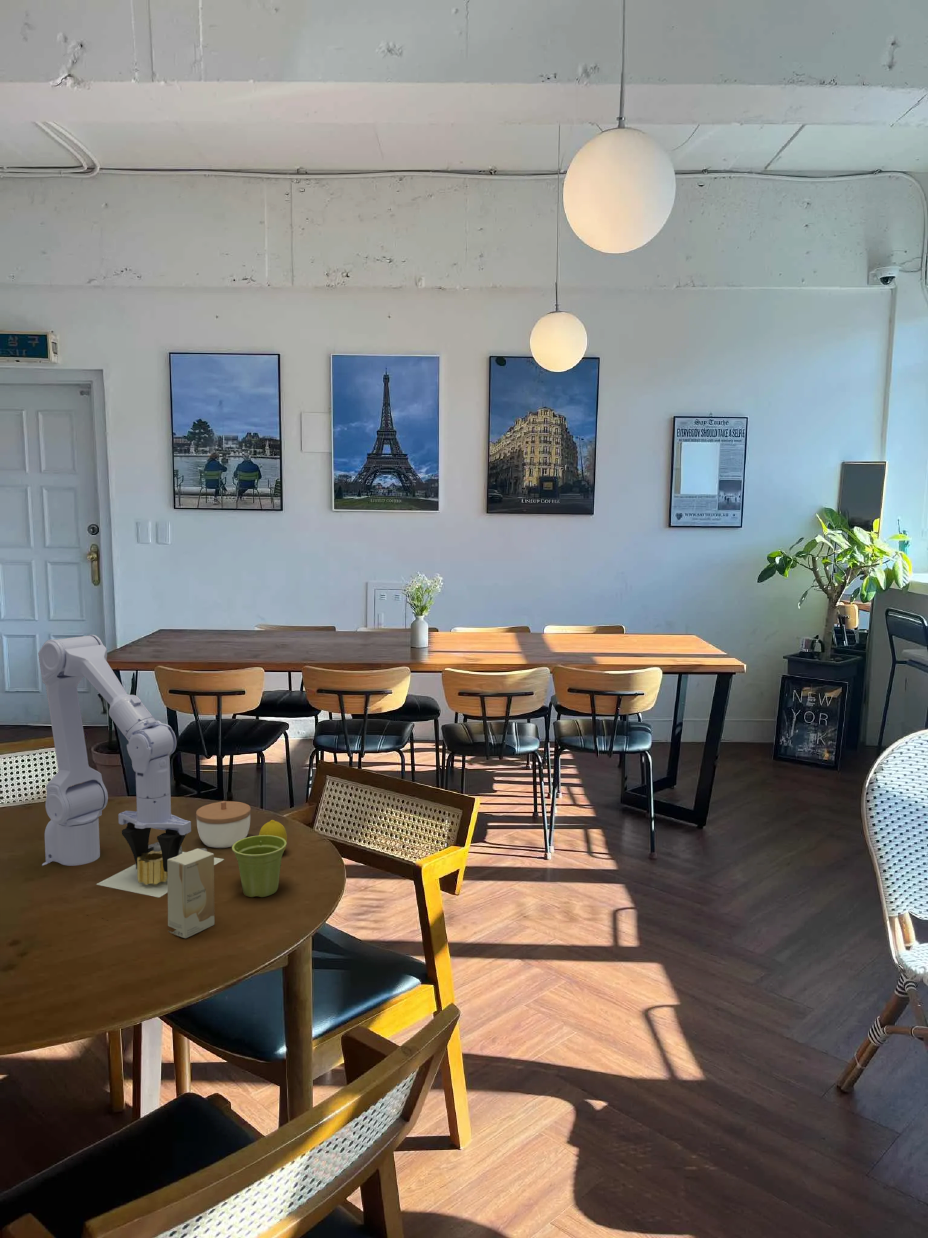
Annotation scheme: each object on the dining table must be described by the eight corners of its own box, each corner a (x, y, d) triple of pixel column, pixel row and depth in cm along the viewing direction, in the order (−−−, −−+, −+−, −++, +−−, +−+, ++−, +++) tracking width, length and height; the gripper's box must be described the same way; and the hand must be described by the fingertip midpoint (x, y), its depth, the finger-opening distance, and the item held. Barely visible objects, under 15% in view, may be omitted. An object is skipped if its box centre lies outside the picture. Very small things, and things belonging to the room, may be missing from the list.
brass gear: (130, 880, 148) (130, 858, 148) (154, 869, 153) (154, 848, 153) (153, 887, 146) (153, 865, 145) (176, 876, 151) (176, 854, 150)
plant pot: (252, 908, 143) (251, 859, 142) (222, 891, 149) (221, 844, 148) (297, 891, 150) (297, 844, 149) (267, 875, 156) (266, 831, 155)
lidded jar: (259, 849, 169) (258, 804, 168) (206, 860, 163) (205, 814, 162) (241, 833, 177) (240, 790, 176) (190, 843, 171) (189, 799, 170)
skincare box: (185, 940, 131) (183, 865, 130) (167, 933, 134) (164, 859, 132) (217, 924, 137) (215, 852, 135) (199, 917, 139) (197, 846, 138)
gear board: (96, 890, 149) (95, 865, 148) (165, 854, 165) (165, 831, 165) (159, 904, 144) (158, 877, 143) (224, 865, 160) (223, 841, 160)
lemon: (280, 866, 160) (279, 826, 159) (253, 863, 161) (253, 823, 161) (291, 855, 166) (291, 816, 165) (266, 853, 167) (265, 814, 166)
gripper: (104, 795, 147) (107, 869, 149) (171, 805, 142) (173, 882, 143) (133, 784, 154) (135, 854, 155) (198, 793, 149) (199, 866, 150)
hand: (155, 867), depth 150 cm, fingers closed on brass gear, 6 cm apart
